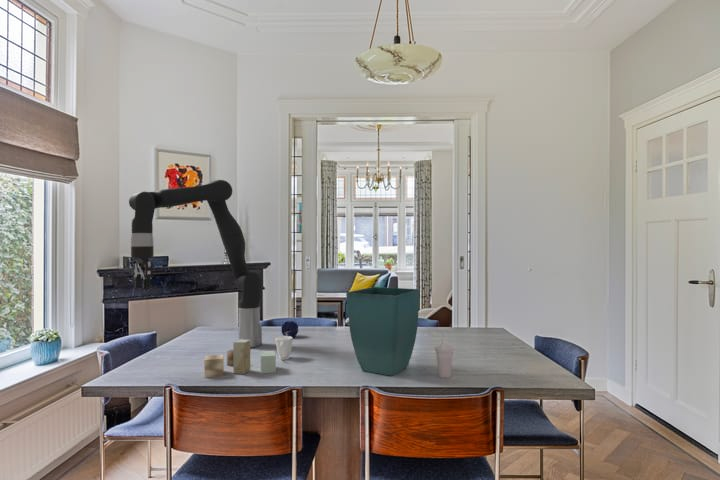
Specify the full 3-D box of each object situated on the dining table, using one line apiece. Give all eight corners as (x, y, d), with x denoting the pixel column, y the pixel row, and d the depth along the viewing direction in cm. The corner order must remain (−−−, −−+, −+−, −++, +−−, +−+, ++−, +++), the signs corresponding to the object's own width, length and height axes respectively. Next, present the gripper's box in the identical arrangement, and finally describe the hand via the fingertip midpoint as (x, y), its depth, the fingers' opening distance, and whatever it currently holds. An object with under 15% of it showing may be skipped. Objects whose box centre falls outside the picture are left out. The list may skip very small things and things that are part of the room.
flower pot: (396, 381, 141) (395, 295, 141) (345, 372, 151) (345, 292, 151) (421, 366, 158) (420, 289, 158) (374, 359, 168) (373, 286, 168)
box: (244, 374, 151) (243, 342, 151) (232, 373, 152) (232, 342, 152) (251, 369, 156) (250, 339, 156) (240, 369, 157) (239, 338, 157)
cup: (294, 355, 175) (294, 335, 175) (289, 362, 165) (289, 341, 165) (277, 355, 175) (277, 335, 175) (271, 362, 165) (271, 341, 165)
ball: (296, 338, 206) (296, 322, 206) (280, 339, 207) (280, 323, 207) (299, 335, 214) (298, 319, 214) (283, 335, 215) (283, 320, 215)
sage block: (274, 367, 160) (274, 350, 160) (275, 372, 153) (275, 355, 153) (260, 368, 158) (260, 351, 158) (261, 373, 152) (261, 356, 152)
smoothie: (433, 373, 149) (432, 332, 149) (451, 372, 150) (450, 332, 150) (438, 379, 143) (437, 336, 143) (456, 378, 143) (456, 336, 143)
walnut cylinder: (236, 361, 167) (236, 348, 167) (243, 364, 164) (243, 351, 164) (224, 364, 164) (224, 351, 164) (231, 367, 160) (231, 353, 160)
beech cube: (223, 371, 155) (223, 354, 155) (222, 375, 150) (222, 358, 150) (205, 372, 154) (205, 355, 154) (204, 377, 148) (204, 360, 148)
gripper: (160, 245, 159) (160, 289, 159) (145, 245, 169) (146, 286, 169) (138, 245, 154) (138, 291, 154) (125, 245, 164) (125, 288, 164)
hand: (142, 288), depth 161 cm, fingers open, 8 cm apart
